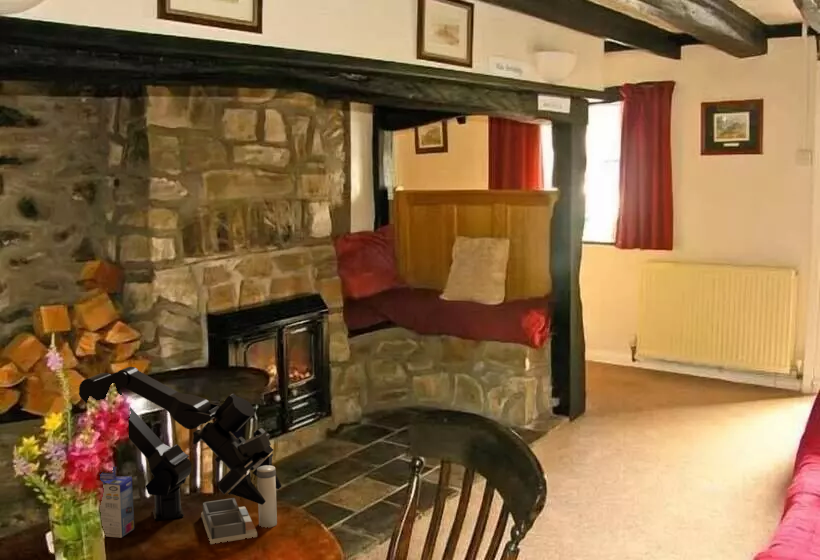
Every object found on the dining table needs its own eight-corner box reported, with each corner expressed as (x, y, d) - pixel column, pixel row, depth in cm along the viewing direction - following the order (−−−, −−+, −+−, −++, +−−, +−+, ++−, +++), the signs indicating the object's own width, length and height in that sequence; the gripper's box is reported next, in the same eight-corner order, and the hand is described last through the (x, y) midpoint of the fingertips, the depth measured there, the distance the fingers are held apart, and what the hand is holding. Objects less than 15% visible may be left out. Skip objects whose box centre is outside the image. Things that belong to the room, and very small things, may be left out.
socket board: (201, 516, 197) (200, 502, 196) (245, 510, 200) (244, 496, 200) (210, 544, 183) (209, 528, 182) (257, 536, 186) (256, 521, 186)
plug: (257, 521, 194) (255, 466, 192) (275, 519, 195) (273, 464, 193) (260, 529, 190) (258, 472, 188) (278, 526, 191) (277, 470, 190)
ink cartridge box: (136, 528, 191) (132, 466, 189) (123, 539, 186) (119, 474, 184) (96, 525, 193) (92, 463, 191) (82, 535, 188) (78, 472, 186)
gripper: (228, 434, 181) (279, 488, 180) (263, 409, 199) (310, 458, 198) (196, 467, 184) (246, 520, 183) (233, 440, 202) (279, 488, 201)
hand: (272, 495), depth 191 cm, fingers open, 9 cm apart
